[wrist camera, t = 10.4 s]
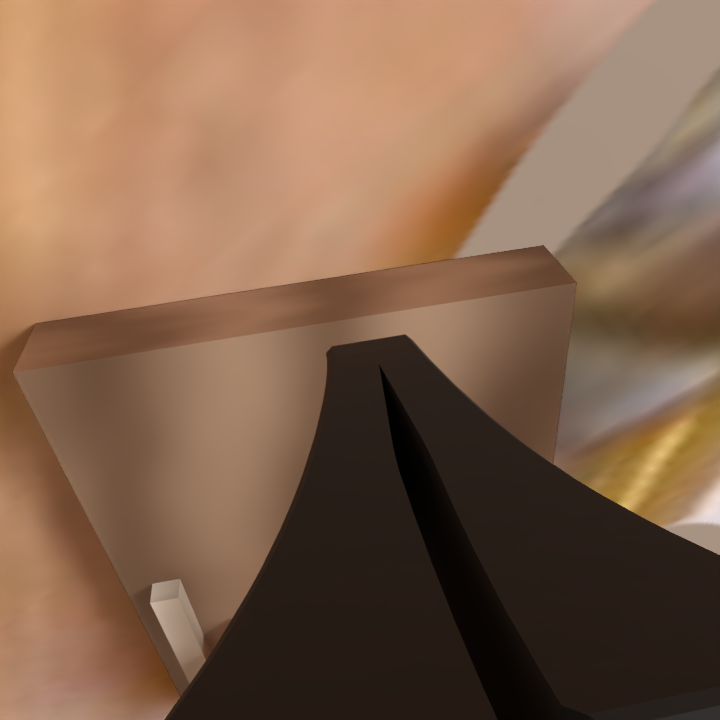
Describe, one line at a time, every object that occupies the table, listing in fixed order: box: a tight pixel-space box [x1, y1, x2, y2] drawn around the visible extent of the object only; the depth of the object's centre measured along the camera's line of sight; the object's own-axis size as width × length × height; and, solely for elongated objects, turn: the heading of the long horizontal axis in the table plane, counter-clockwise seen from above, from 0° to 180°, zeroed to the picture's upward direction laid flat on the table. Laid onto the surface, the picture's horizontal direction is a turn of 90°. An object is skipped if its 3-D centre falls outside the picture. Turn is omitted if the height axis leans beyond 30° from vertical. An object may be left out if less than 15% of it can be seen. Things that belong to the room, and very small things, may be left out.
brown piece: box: [13, 245, 577, 696], centre depth 25 cm, size 16×22×3 cm
